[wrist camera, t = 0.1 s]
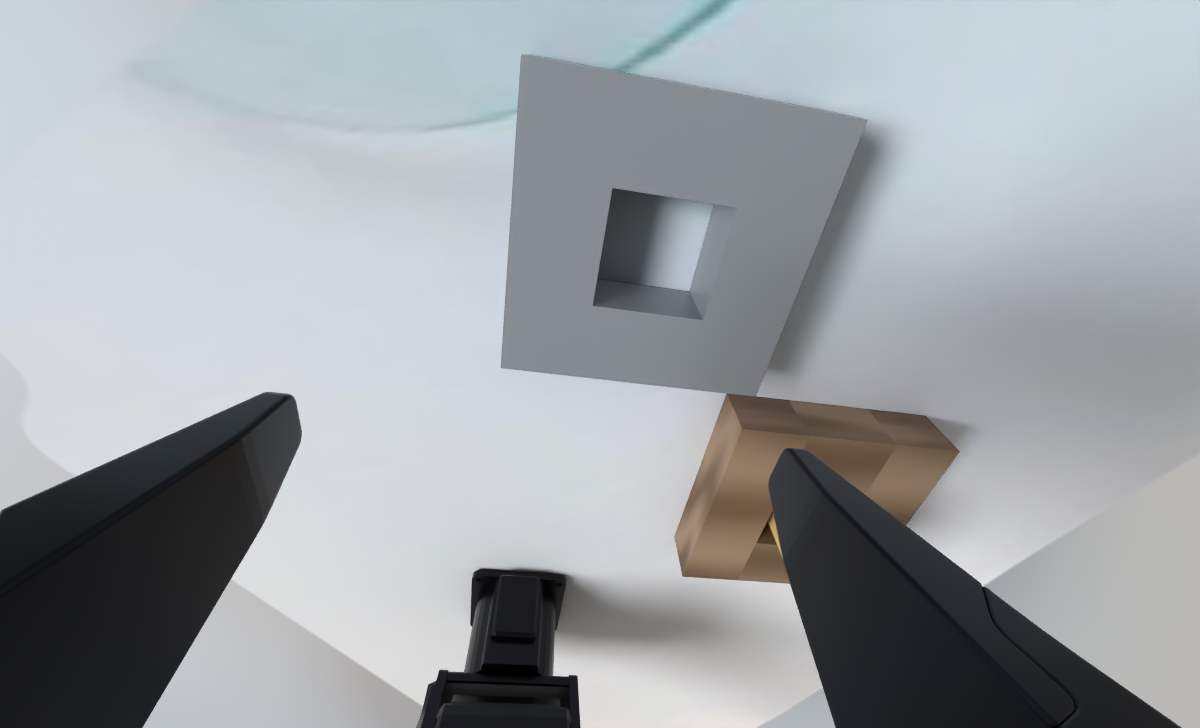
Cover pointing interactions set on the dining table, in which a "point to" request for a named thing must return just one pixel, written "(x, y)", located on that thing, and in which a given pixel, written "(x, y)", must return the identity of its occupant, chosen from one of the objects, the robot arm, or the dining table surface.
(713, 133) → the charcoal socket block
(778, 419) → the walnut mount
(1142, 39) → the dining table surface
